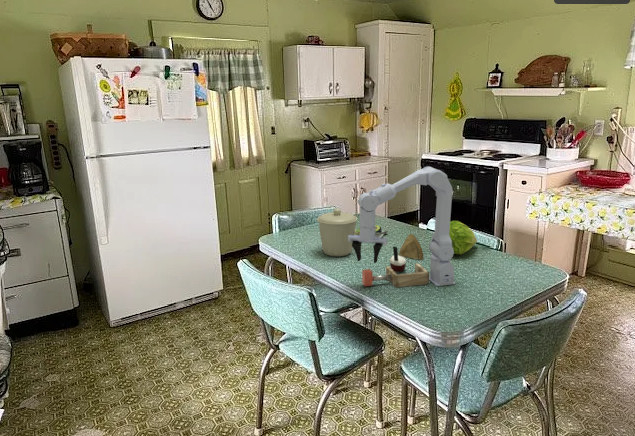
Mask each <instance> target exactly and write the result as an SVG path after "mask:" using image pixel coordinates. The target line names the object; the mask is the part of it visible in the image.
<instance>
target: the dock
mask: <svg viewBox="0 0 635 436" xmlns="http://www.w3.org/2000/svg"><path fill="white" fill-rule="evenodd" d="M385 275H391V277H392V278H391V279H388V281H389V282H391V283H392V285H393V287H395V288H402V287H412V286H421V285H429V284H430V280H429V275H430V271H428V270H427V269H426V268H424V267H423V266H422V265H420V264H419V263H414V272H412V273H411V272H410V273H401V274H397V272H394V271H393V270H392V269H391V266H386V267H385Z"/></svg>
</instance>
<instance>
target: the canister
mask: <svg viewBox="0 0 635 436" xmlns="http://www.w3.org/2000/svg"><path fill="white" fill-rule="evenodd" d="M316 220H317V222H318V225H319V226H318V227H319V234H320V242H321V248H322V251H323V252H324V254H325V255H327V256H330V257H345V256H348V255H349V254H351V252H352V251H353V250H354V248H353V247H352V242H353V241H351V242H349V241H348V236H349V235H355V229H356V224H357V221H358V217H357V216H355V215H354V214H352V213H350V212H343V211H342V210H341V208H334V209H333V210H332V211H331V212H325V213H323V214H321V215H320V216H318V217H317V218H316Z"/></svg>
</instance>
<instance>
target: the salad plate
mask: <svg viewBox="0 0 635 436" xmlns="http://www.w3.org/2000/svg"><path fill="white" fill-rule="evenodd" d="M388 232H389V231H388V230H383V229H382V227H381V225H380V224H375V236H376V237H381V238H383V236H384V235H385V234H387V233H388ZM355 235H360V227H359V228H355Z"/></svg>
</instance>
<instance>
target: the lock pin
mask: <svg viewBox="0 0 635 436" xmlns="http://www.w3.org/2000/svg"><path fill="white" fill-rule="evenodd" d="M361 275H362V277H361V278H362V279H361V282H362V285H364V286H363V287H370V286H373V282H377V281H378V282H379V281H387V280H388V279H391V278H392V277H391V275H386V274H383V275H373V270H371V268H367V269H362V270H361ZM388 281H389V280H388Z"/></svg>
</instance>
